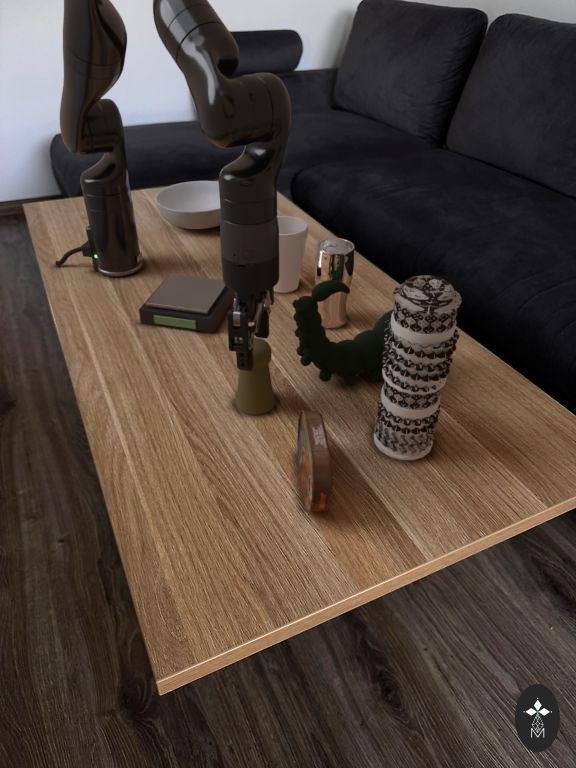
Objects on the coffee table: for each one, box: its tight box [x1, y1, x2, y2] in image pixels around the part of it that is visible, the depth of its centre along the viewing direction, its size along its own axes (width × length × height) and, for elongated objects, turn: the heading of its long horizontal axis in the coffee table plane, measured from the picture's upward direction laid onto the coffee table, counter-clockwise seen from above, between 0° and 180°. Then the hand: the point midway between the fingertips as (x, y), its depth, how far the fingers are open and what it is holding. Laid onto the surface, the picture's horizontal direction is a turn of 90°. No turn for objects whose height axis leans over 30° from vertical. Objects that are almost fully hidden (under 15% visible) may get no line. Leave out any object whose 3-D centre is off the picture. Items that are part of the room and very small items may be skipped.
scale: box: [138, 274, 237, 334], centre depth 113 cm, size 14×14×3 cm
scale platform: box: [145, 272, 227, 315], centre depth 112 cm, size 12×12×1 cm
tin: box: [296, 409, 334, 513], centre depth 76 cm, size 15×3×8 cm, turn 5°
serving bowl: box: [154, 180, 221, 230], centre depth 146 cm, size 21×21×7 cm
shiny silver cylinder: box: [313, 237, 355, 329], centre depth 107 cm, size 7×7×15 cm
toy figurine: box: [291, 280, 394, 386], centre depth 93 cm, size 9×19×25 cm
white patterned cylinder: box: [373, 274, 463, 461], centre depth 78 cm, size 9×9×25 cm
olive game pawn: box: [235, 337, 276, 416], centre depth 88 cm, size 6×6×11 cm
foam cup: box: [274, 215, 309, 294], centre depth 118 cm, size 10×9×13 cm
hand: (253, 352), depth 86 cm, fingers open, 8 cm apart
